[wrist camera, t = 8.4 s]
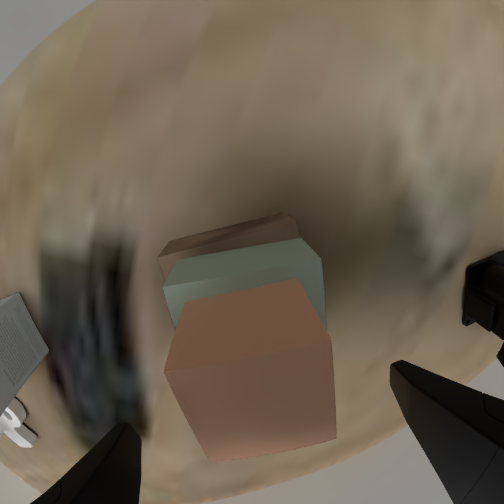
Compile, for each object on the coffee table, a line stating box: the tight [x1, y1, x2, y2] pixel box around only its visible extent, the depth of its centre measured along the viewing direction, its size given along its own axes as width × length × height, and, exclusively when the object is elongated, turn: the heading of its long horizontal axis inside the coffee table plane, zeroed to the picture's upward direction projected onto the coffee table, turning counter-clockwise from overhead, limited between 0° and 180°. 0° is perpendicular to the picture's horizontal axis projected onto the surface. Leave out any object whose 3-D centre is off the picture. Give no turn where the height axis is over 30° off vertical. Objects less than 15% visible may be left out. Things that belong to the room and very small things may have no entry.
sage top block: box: [163, 238, 327, 331], centre depth 16 cm, size 7×7×4 cm
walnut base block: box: [157, 213, 300, 281], centre depth 19 cm, size 8×8×4 cm
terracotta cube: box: [164, 278, 337, 462], centre depth 11 cm, size 5×5×5 cm
